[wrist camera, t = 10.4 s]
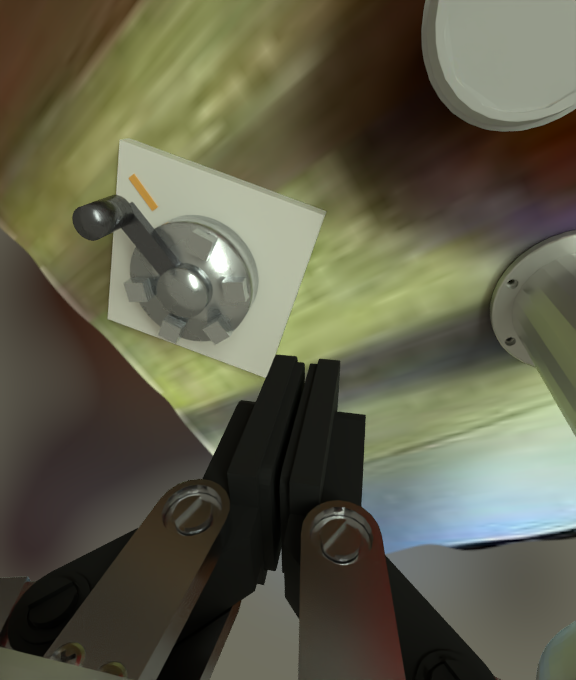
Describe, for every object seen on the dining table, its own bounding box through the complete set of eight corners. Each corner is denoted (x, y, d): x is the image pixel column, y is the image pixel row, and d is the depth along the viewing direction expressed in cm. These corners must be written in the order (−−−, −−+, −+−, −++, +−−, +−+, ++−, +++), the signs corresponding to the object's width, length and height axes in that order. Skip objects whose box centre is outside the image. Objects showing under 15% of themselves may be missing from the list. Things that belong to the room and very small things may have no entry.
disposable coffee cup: (488, -98, 24) (567, -240, 14) (599, 15, 26) (742, -40, 15) (379, 63, 29) (378, 44, 19) (477, 150, 30) (526, 175, 20)
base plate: (326, 211, 35) (324, 215, 33) (269, 370, 44) (266, 378, 43) (129, 138, 35) (119, 139, 34) (115, 312, 45) (107, 319, 43)
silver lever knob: (281, 294, 38) (259, 337, 31) (197, 343, 42) (162, 389, 36) (178, 148, 33) (125, 161, 26) (95, 222, 38) (33, 249, 31)
